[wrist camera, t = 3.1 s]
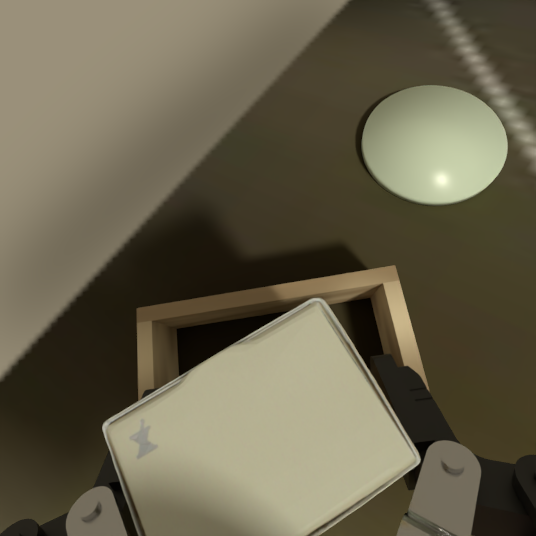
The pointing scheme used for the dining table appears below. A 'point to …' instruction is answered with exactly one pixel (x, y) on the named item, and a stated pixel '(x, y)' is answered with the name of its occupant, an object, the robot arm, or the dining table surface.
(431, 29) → the dining table surface
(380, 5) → the dining table surface
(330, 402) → the skincare box
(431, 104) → the pale green round disc
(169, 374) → the holder
